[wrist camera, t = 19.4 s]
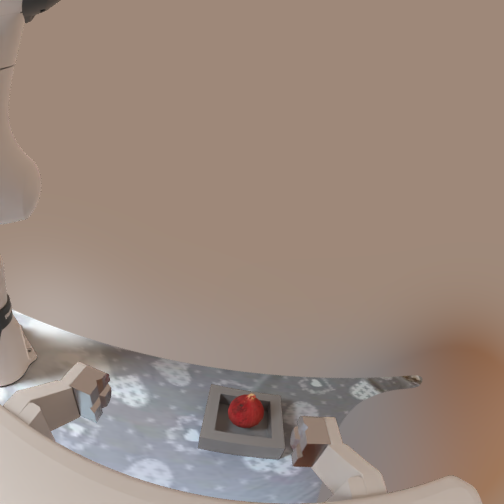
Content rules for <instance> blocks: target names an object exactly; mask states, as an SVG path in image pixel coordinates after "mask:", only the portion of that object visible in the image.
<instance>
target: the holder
mask: <svg viewBox="0 0 504 504" xmlns="http://www.w3.org/2000/svg"><path fill="white" fill-rule="evenodd" d="M251 393H252V394H255V396H256V398H258V399H259V400H260V401H261V403H262V405H263V407H264V416H263V419H262V420H261V421H260V423H259V424H258V425H256V426H253V427H251V428H241V427H238V426H236V425H234V424H233V423H232V422H231V421H230V419H229V416H228V408H229V406H230V404H231V402H232V401H233V400H234V399H235V398H236V397H238V396H241V395H245V394H247V395H249V394H251ZM198 448H199V449H204V450H209V451H214V452H220V453H226V454H232V455H239V456H247V457H256V458H266V459H279V458H280V457H281V455H282V453H283V452H284V450H285V441H284V430H283V418H282V407H281V396H280V395H272V394H264V393H257V392H251V391H245V390H239V389H233V388H228V387H223V386H218V385H213V384H211V387H210V392H209V396H208V401H207V405H206V410H205V414H204V419H203V423H202V428H201V433H200V437H199V444H198Z"/></svg>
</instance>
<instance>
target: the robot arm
mask: <svg viewBox="0 0 504 504" xmlns="http://www.w3.org/2000/svg"><path fill="white" fill-rule="evenodd" d="M59 1H60V0H0V224H6V223H11V222H16V221H20V220H24V219H27V218H28V217H29V216H30V215H31V214H32V212H33V211H34V209H35V207H36V205H37V203H38V201H39V198H40V193H41V176H40V172H39V169H38V167H37V165H36V163H35V162H34V160H32V159H31V158H30V157H29V156H27V154H25V152H24V151H23V150H22V149H21V148H20V146H19V145H18V143H17V141H16V140H15V137H14V135H13V133H12V130H11V127H10V122H9V114H8V113H9V96H10V88H11V82H12V76H13V71H14V67H15V63H16V58H17V54H18V50H19V46H20V41H21V37H22V32H23V27H24V22H25V23H28V22H30V21H31V20H32V19H33V18H34V16H35V15H36V14H39V13H42V12H44V11H46V10H48V9H49V8H50V7H52V6H53V5H55V4H56V3H57V2H59ZM36 358H37V355H36V352H35V351H34V349H33V347H32V346H31V344H30V343H29V341H28V339H27V338H26V336H25V334H24V332H23V331H22V328H21V325H19V323H18V321H17V320H16V318H15V317H14V315H13V314H12V307H11V302H10V299H9V296H8V294H7V290H6V283H5V274H4V264H3V259H2V257H1V255H0V386H4V385H8V384H11V383H13V382H15V381H17V380H18V379H20V378H21V377H22V376H23V375H24V373H25V372H26V370H27V368H28V366H29V365H30V364H31V363H32V362H33V361H35V360H36ZM109 381H110V378H109V375H108V374H107V373H104V372H102V371H100V370H97V369H95V368H93V367H90V366H88V365H86V364H83V363H81V362H77V363H76V364H75V365H74V366H73V367H72V368H71V369H70V370H69V372H68V373H67V374H66V375H65V376H64V377H63V378H62V379H61V381H58V380H56V381H53V382H49V383H46V384H42V385H38V386H34V387H31V388H27V389H23V390H19V391H16V392H15V393H14V394H13V395H12V397H11V398H10V399H9V400H8V401H7V402H6V403H5V404H4V405H3V406H2V405H0V504H278V503H257V502H245V501H235V500H227V499H220V498H214V497H208V496H202V495H197V494H192V493H188V492H183V491H179V490H175V489H171V488H167V487H163V486H160V485H156V484H153V483H150V482H146V481H143V480H140V479H137V478H134V477H131V476H129V475H126V474H123V473H120V472H118V471H115V470H113V469H110V468H108V467H105V466H103V465H101V464H98V463H96V462H94V461H92V460H90V459H87V458H85V457H83V456H81V455H79V454H77V453H75V452H73V451H71V450H69V449H67V448H66V447H64V446H62V445H60V444H58V443H57V442H55V439H54V437H53V435H52V433H51V431H52V430H54V429H56V428H58V427H60V426H62V425H65V424H67V423H69V422H71V421H73V420H75V419H77V418H79V417H80V416H82V417H84V418H87V419H89V420H91V421H94V422H96V423H97V422H98V420H99V418H100V417H101V415H102V413H103V412H102V408H104V407H106V406H107V405H108V403H109V401H110V398H111V387H110V386H109V384H108V382H109ZM297 425H298V426H296V427H294V429H293V431H292V433H291V438H290V446H291V448H292V449H293V450H294V451H293V453H292V455H291V456H292V465H293V466H294V467H312V469H313V470H314V472H315V473H316V474H317V475H318V477H319V478H320V479H321V480H322V481H323V483H324V484H325V485H326V486H327V487H328V488H329V490H330V491H331V492H332V493H333V495H332V496H331V497H330V498H328V499H327V500H326V502H323V503H302V504H483V503H482V501H481V498H480V496H479V494H478V492H477V490H476V489H475V488H474V487H473V486H472V485H471V484H469V483H468V482H466V481H464V480H462V479H460V478H458V477H456V476H454V475H450V476H446V477H443V478H440V479H437V480H434V481H431V482H428V483H425V484H422V485H418V486H415V487H411V488H408V489H404V490H400V491H396V492H391V493H388V492H387V489H386V486H385V483H384V480H383V477H382V474H381V472H380V471H378V470H377V469H376V468H374V467H373V466H372V465H371V464H369V463H368V462H367V461H366V460H364V459H363V458H362V457H361V456H360V455H358V454H357V453H356V452H355V451H354V450H352V449H351V448H350V447H349V446H348V445H346V444H343V442H342V438H341V435H340V432H339V428H338V425H337V422H336V419H335V418H334V417H311V416H300V417H299V419H298V421H297Z"/></svg>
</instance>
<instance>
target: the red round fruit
mask: <svg viewBox="0 0 504 504" xmlns="http://www.w3.org/2000/svg"><path fill="white" fill-rule="evenodd" d="M228 416H229V419H230V421H231V422H232V423H233V424H234V425H236V426H238V427H241V428H251V427H253V426H256V425H258V424H259V423H260V421H261V420H262V419H263V416H264V407H263V405H262V403H261V401H260V400H259V399H258V398H256V396H255V394H252V393H251V394H249V395H247V394H245V395H241V396H238V397H236V398H235V399H234V400H233V401H232V402H231V404H230V406H229V408H228Z"/></svg>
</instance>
